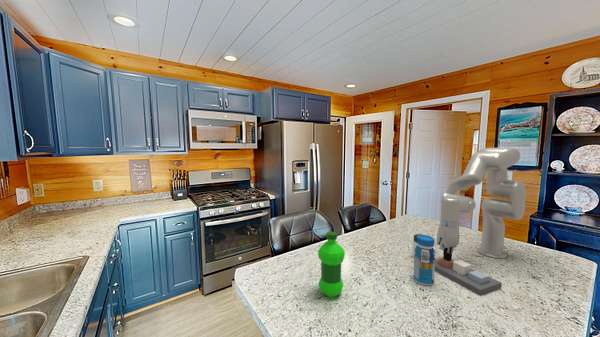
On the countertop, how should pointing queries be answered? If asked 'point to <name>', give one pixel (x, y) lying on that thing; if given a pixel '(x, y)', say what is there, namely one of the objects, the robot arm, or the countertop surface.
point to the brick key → (446, 263)
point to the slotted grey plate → (468, 280)
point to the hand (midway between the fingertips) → (447, 259)
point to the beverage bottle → (424, 260)
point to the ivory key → (461, 267)
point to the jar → (414, 244)
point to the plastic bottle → (331, 266)
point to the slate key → (478, 277)
